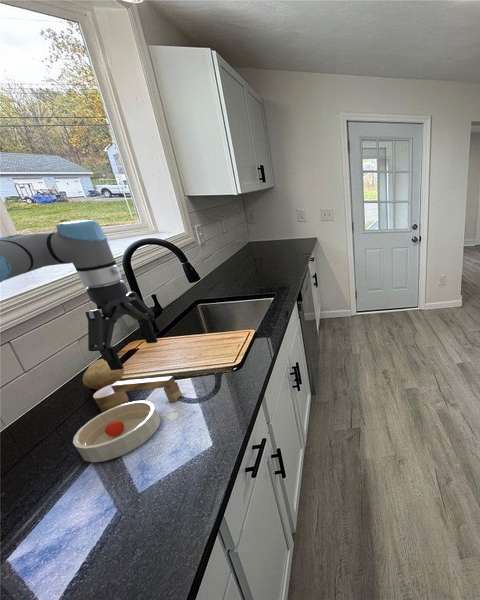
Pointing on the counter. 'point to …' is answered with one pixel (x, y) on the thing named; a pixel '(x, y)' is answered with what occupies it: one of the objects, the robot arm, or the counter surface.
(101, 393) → the ladle
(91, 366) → the potato
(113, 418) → the bowl
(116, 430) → the tomato
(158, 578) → the counter surface
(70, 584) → the counter surface
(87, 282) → the robot arm
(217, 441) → the counter surface
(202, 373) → the counter surface
